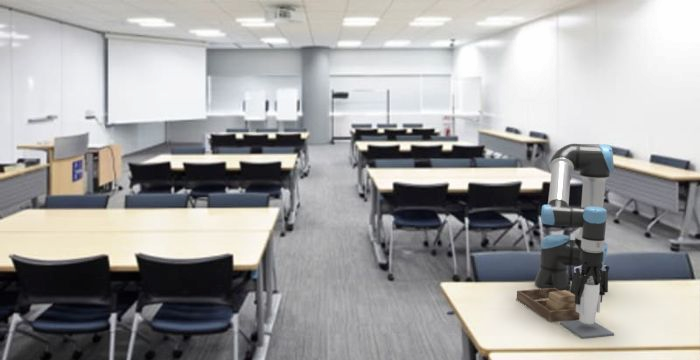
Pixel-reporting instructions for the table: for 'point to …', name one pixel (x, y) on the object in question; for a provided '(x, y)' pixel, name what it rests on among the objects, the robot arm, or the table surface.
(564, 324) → the mat
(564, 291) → the offcut top
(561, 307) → the offcut middle
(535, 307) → the tray
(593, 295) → the drinking glass
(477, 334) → the table surface
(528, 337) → the table surface
